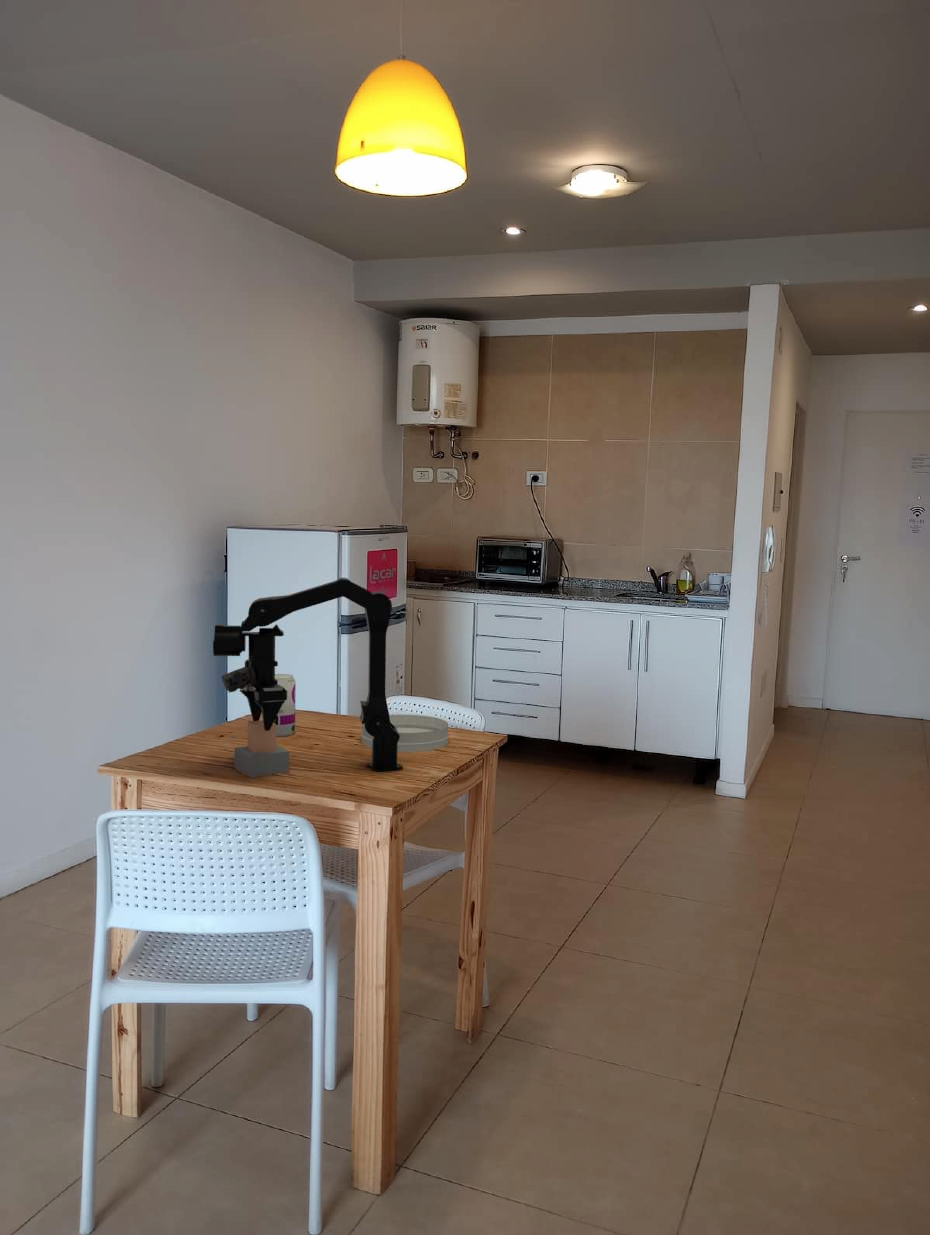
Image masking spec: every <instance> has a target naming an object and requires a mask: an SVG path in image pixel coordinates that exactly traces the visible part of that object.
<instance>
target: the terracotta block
mask: <svg viewBox="0 0 930 1235" xmlns="http://www.w3.org/2000/svg"><path fill="white" fill-rule="evenodd" d="M276 738H277V736H276V724H275V723H273V725H272V727H271V729H270V730H269V731H265V729H264V724H263V719H260V720H259V721H253V720H251V721H247V746H248V749H249V750H250V751H251V752H253V753H260V752H272V751H276V745H277V744H276V742H277V739H276Z"/></svg>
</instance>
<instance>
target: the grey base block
mask: <svg viewBox="0 0 930 1235" xmlns="http://www.w3.org/2000/svg"><path fill="white" fill-rule="evenodd" d="M233 754H234V767H235V768H236V769H237V770H236V769H235V770H236V771H238V770H240V771H241V772H243V773H245V774H246V775H245V774H244V775H245V776H247V775H248V776H249V778H250V777H253V778H259V777H258V776H260V777H265V776H264V775H267V776H272V774H274V775H280V774H279V773H281V774H285V773H287V774H288V773H290V750H288V749H285V748H283V747H281V746H279V745H277V744H276V751H272V752H260V753H253V752H251V751H250V750H249V749H248V745H247V746H246V745H245V746H237V747H234V753H233ZM240 771H239V772H240ZM241 772H240V773H241ZM243 773H242V774H243ZM248 776H247V777H248Z"/></svg>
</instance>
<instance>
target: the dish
mask: <svg viewBox="0 0 930 1235" xmlns="http://www.w3.org/2000/svg"><path fill="white" fill-rule="evenodd" d="M389 717H390V722H391V723H392V724H393V725H394V726H395V727H396V729H397V731H398V733H399V735H400V738H399V741H398V753H415V752H416V753H417V752H418V753H419V752H428V751H434V750H439V749H442V748H445V747H446V746H448V745H449V740H450V739H449V738H450V737H449V723H448V722H447V721H446V720H444V719H442V718H440V717H439V718H438V717H434V716H428V715H421V714H389ZM361 730H362V731H361V733H360V734H361V735H360V737H361V738H360V739H361V740H360V742H361V741H362V742H361V744H362V743H363V744H364V745H363V744H362V745H363V746H365V747H367V746H368V748H370V747H371V748H370V749H372V740H373V738H374V737H373V736H371V735H370V734H369V733H367V731H366V729H365V726H364V724H362V723H361Z"/></svg>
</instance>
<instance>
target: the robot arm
mask: <svg viewBox="0 0 930 1235" xmlns="http://www.w3.org/2000/svg"><path fill="white" fill-rule="evenodd" d="M339 598H345V599H347V600H349V601H351V602H352V603H354V604H356V605H358V606H360V607H362V608H363V609H364V614H365V619H366V625H367V630H368V684H367V685H368V686H367V687H368V692H367V696H366V701H365V700H360V701H359V702H360V707H361V708H360V709H361V712H360V716H359V719H360V722H361V725H362V724H364V726H365V729H366V731H367V733H369V734H370V735H371V736H373V737H374V738H373V740H372V748H371V749H372V750H371V752H372V754H371V762H366V766H367V767H369V768H370V769H372V770H373V771H375V772H384V771H386V772H387V771H395V770H403V769H404V766H403V765H401V764H400V763H398V753H399V752H398V741H399V738H400V735H399V733H398V731H397V729H396V727H395V726H394V725H393V724H392V723H391V722H390V717H389V715H390V712H389V706H388V703H387V696H386V676H387V674H386V673H387V672H386V671H387V670H386V668H387V666H386V665H387V664H386V660H387V659H386V658H387V656H386V654H387V632H388V628H389V625H390V624H389V623H390V620H391V614H392V609H393V605H392V604H393V603H392V601H391V599H390V598H389V596H387V594H386V593H384V592H382V591H379V590H375V591H371V590H369V589H366V588H364V587H363V586H360V585H358V584H357V583H354V582H353V581H351V580H350V579H349V578H347V577H340V578H338V579H336V580H332V581H331V582H327V583H323V584H321V585H317V586H314V587H311V588H307V589H304V590H300V591H297V592H295V593H291V594H287V595H285V594H284V595H275V596H265V597H259V598H256V599H255V600H253V602H251V603H250V604H251V605H250V606H249V608H248V611H247V612H248V615H247V617H246V618H245V619H244V620H242V621H241V624H240V625H224V624H215V626H214V634H213V635H214V636H213V641H212V649H213V650H212V653H213V657H241V654H242V653H243V652H246V645H247V644H246V643H247V642H246V641H247V640H246V638H247V637H248V659H245V661H244V667H241V668H238V669H235V670H232V671H230V672H227V673H224V674H223V675H221V677H220V678H221V681H222V684H223V686H224V688H225V690H226V691H228V693H233V692H236V691H237V690H239V693H241V694H243V696H244V697H245V698H246V699H247V703H248V706H249V710H250V714H251V717H252V721H260V720H261V719H260V718H262V720H263V724H264V729H265V731H269V730H270V729H271V727H272V725H273V723H274V720H275V718H276V716H277V714H278V712H279V710H280V708H281V707H282V705H283V703H285V700H287V690H285V689H284V688H283V687H282V686H280V685H278V680H276V679H275V674H276V667H278V666H279V664H278V662H279V661H277V660H276V637H283V636H284V635H285V634H284V633H285V632H284V631H283V630H282V629H281V628H280V627H279V624H275V625H274V626H272V627H267V626H269V625H271V624H273V623H275V622H277V621H279V620H281V619H283V618H284V617H286V616H288V615H290V614H292V613H294V612H297V611H300V610H303V609H307V608H310V607H312V606H313V607H314V606H317V605H320V604H323V603H326V602H329V601H333V600H336V599H339ZM257 627H259V630H258V631H253V630H254V629H255V628H257ZM261 716H262V717H261Z"/></svg>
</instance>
